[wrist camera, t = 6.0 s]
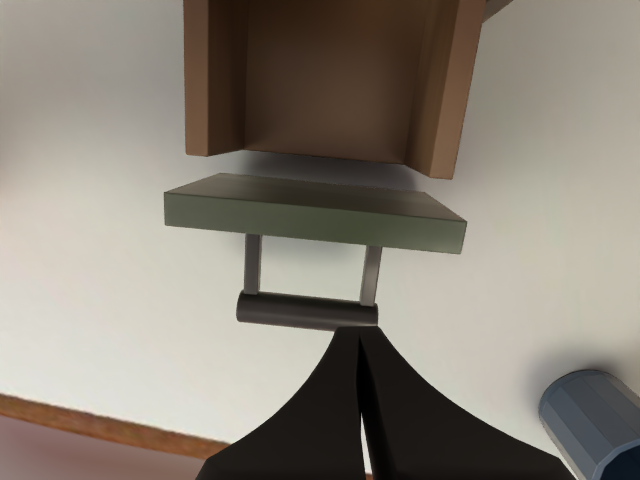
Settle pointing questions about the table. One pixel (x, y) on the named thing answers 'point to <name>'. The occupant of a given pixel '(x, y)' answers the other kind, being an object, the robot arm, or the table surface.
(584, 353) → the table surface
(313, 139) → the drawer
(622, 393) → the tumbler
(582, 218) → the table surface
